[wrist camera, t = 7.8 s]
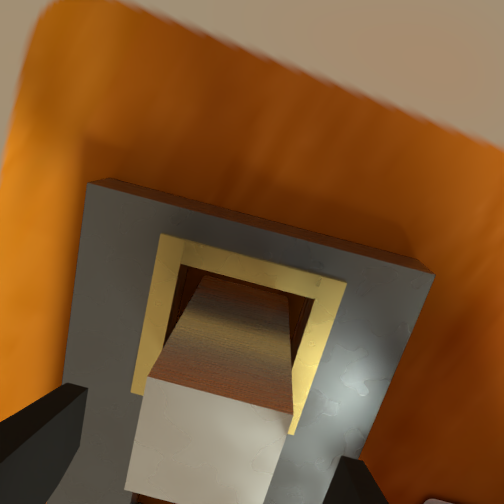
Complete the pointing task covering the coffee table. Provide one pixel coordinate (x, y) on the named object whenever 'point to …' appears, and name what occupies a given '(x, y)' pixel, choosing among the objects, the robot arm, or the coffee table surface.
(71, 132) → the coffee table surface
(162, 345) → the hole plate
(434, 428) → the coffee table surface
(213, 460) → the steel peg
